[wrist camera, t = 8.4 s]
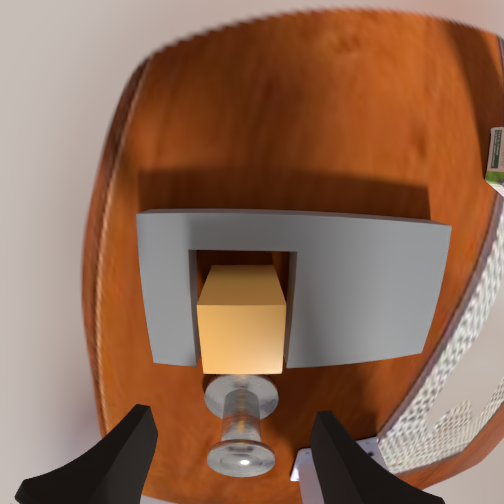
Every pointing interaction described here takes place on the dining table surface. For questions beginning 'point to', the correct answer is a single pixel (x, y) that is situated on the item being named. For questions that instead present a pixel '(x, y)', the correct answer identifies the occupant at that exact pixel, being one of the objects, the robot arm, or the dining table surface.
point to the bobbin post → (241, 423)
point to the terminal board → (301, 279)
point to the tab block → (242, 320)
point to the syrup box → (496, 160)
